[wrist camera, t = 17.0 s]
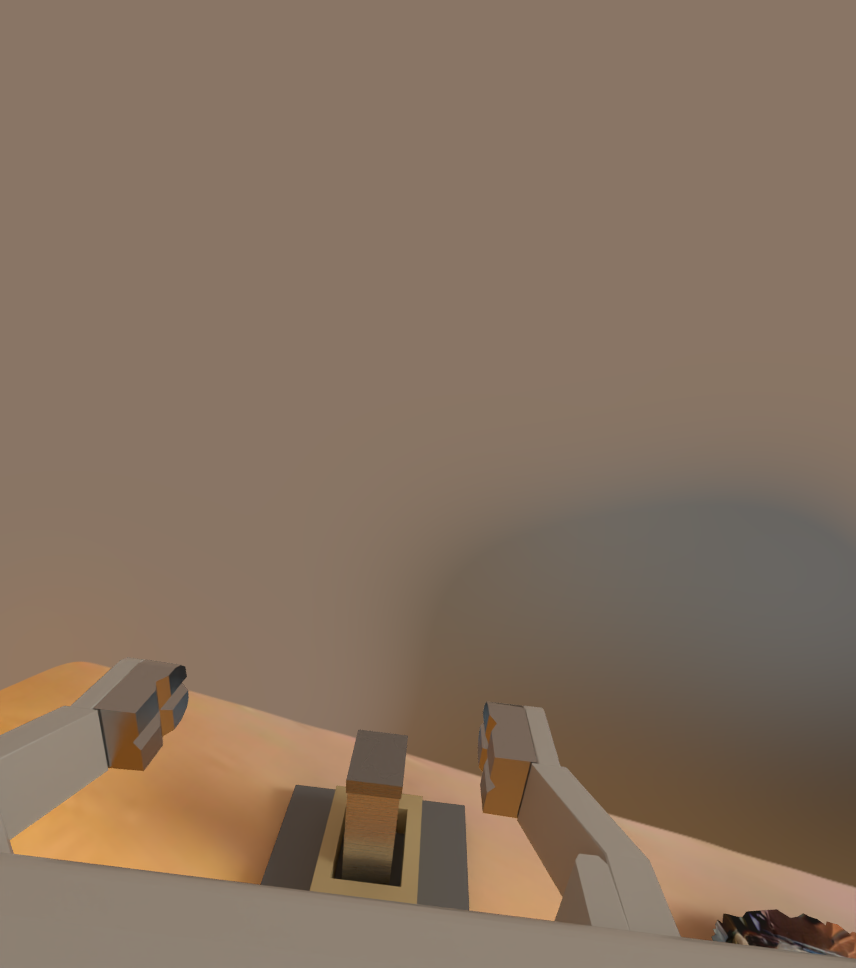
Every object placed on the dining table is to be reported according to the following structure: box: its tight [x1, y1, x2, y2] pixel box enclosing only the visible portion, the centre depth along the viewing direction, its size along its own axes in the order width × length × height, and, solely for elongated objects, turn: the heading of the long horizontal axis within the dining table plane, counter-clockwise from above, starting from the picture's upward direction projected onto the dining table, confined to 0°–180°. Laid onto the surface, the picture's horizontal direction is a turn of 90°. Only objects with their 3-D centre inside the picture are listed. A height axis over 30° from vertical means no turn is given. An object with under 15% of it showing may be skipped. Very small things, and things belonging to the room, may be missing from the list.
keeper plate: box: [261, 785, 469, 911], centre depth 32 cm, size 16×11×4 cm
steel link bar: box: [342, 730, 408, 885], centre depth 30 cm, size 4×4×12 cm
